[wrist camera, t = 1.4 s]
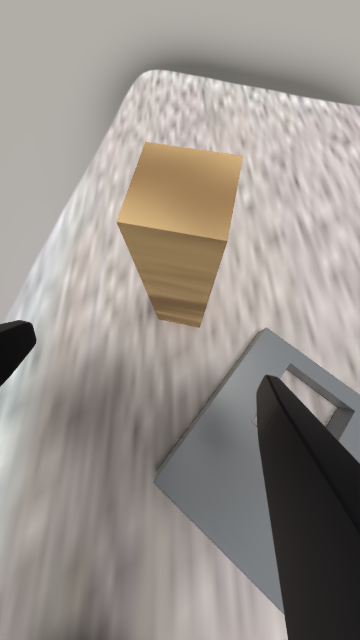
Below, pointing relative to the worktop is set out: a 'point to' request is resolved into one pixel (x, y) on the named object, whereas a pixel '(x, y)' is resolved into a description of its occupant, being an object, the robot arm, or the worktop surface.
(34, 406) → the worktop surface
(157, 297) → the pin
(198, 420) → the socket board
